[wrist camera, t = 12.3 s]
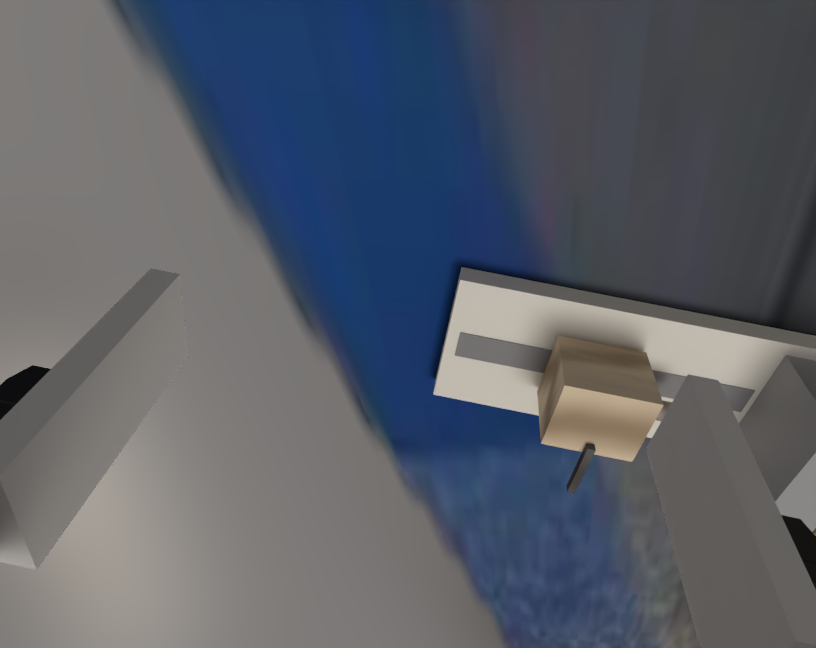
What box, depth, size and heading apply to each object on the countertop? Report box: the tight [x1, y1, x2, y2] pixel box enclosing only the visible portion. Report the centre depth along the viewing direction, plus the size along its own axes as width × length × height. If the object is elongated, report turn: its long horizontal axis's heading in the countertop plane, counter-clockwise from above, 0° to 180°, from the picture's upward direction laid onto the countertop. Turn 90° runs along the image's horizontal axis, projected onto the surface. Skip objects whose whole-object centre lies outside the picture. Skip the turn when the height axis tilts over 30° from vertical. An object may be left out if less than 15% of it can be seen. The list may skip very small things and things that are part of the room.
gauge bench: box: [433, 267, 816, 532], centre depth 45 cm, size 12×30×10 cm, turn 82°
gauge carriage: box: [537, 335, 672, 493], centre depth 46 cm, size 10×10×7 cm
